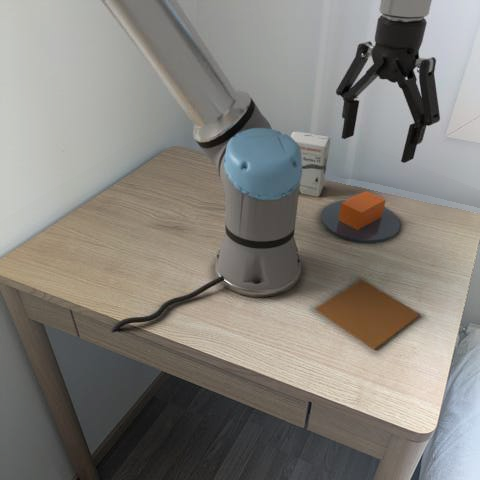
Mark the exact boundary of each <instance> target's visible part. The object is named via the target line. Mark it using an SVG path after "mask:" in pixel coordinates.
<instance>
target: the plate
mask: <svg viewBox="0 0 480 480" xmlns="http://www.w3.org/2000/svg"><path fill="white" fill-rule="evenodd" d="M346 200H347V199H343V200H338V201H334V202H331V203H330V204H328V205H326V206H325V207H324V208H323V209H322V211H321V214H320V221H321V224H322V225H323V227H324V228H325V229H326V230H327V231H329V232H330V233H331V234H333V235H334V236H337V237H339V238H342V239H344V240H346V241H351V242H357V243H365V244H366V243H369V244H370V243H381V242H383V241H387V240H390V239H391V238H393V237H395V235H397V233H398V232H399V230H400V225H401V223H400V220H399V218H398V216H397V215H396V213H394V212H393V211H392V210H390V209H389V208H387V207H385V206H384V209H383V213H382V217H381V218H379V219H377V220H375V221H373V222H372V223H370V224H368V225H366V226H364V227H362V228H361V229H359V230H356V229H354V228H352V227H351V226H349V225H347V224H345V223H343V222H341V221H339V214H340V208H341V203H342V202H344V201H346Z"/></svg>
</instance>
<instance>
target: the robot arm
mask: <svg viewBox="0 0 480 480" xmlns="http://www.w3.org/2000/svg"><path fill="white" fill-rule="evenodd" d="M100 1H101V3H102V5H103V6H105V8H106V9H107V11H108V13H110V14H111V16H112V17H113V19H114V20H115V21H116V22H117V24H118V25H119V26H120V28H121V29H122V30H123V32H124V33H125V35H126V36H127V37H128V38H129V39H130V41H131V42H132V43H133V45H134V46H135V48H136V49H137V50H138V51H139V53H140V54H141V56H142V57H143V58H144V59H145V61H146V62H147V63H148V65H149V66H150V68H151V69H152V70H153V71H154V73H155V74H156V75H157V77H158V78H159V80H160V81H161V82H162V84H163V85H164V87H166V89H167V90H168V91H169V92H170V94H171V95H172V96H173V98H174V99H175V101H176V102H177V104H178V105H179V106H180V107H181V108H182V110H183V111H184V113H185V114H186V115H187V117H188V118H189V119H190V120H191V122H192V123H193V131H192V137H193V139H194V140H195V142H196V143H197V144H198V146H199V147H200V149H201V150H202V151H203V152H204V154H205V155H206V156H207V158H208V159H209V161H211V163H212V165H213V166H214V167H215V168H216V169H215V170H216V171H217V174H218V176H219V179H220V182H221V185H222V188H223V191H224V201H225V203H224V204H225V206H224V207H225V208H224V210H225V211H224V215H225V216H224V217H225V219H224V221H225V222H224V224H225V225H224V227H225V229H224V234H223V237H222V240H221V243H220V246H219V249H218V251H217V253H216V256H215V261H214V272H215V276H216V278H215V279H212V280H211V281H209V282H207V283H206V284H204V285H202V286H200V287H199V288H197V289H196V290H193V291H192V292H190V293H187V294H185V295H181V296H177V297H174V298H171V299H169V300H167V301H165V302H164V303H162V305H160V307H159V308H158V309H157V310H156V311H155V312H153V313H152V314H149V315H145V316H133V317H127V318H123V319H121V320H120V321H118V322H117V323H116V324H114V326H113V327H112V329H110V330H111V333H116V332H118V331H119V330H120V329H121V328H122V327H124V326H126V325H128V324H129V325H130V324H135V323H146V322H147V323H148V322H150V321H153V320H156V319H157V318H159V317H160V316H161V315H162V314H164V312H165V311H166V310H167V309H168V308H169V307H171V306H172V305H175V304H178V303H182V302H185V301H188V300H191V299H193V298H195V297H197V296H199V295H200V294H203V293H204V292H205V291H207V290H208V289H210V288H212V287H214V286H216V285H218V284H221V285H222V286H223V287H224V288H226V289H228V290H229V291H231V292H233V293H236V294H239V295H242V296H246V297H255V298H267V297H272V296H273V297H274V296H277V295H280V294H284V293H285V292H287V291H289V290H291V289H292V288H294V286H296V284H297V283H298V282H299V279H300V277H301V270H302V264H301V257H300V255H299V248H298V246H297V242H296V238H295V231H296V229H295V228H296V221H297V214H298V206H299V205H298V204H299V196H300V193H299V188H300V180H301V176H302V154H301V150H300V148H299V146H298V144H297V143H296V142H295V141H294V140H293V139H292V138H291V137H290V136H291V135H289V134H286V133H284V134H282V133H281V131H279V130H276V129H273V128H272V125H271V124H270V122H269V121H268V120H267V118H266V117H265V115H264V114H262V112H261V110H260V108H259V107H258V106H257V104H256V103H255V101H254V100H253V98H252V97H251V95H250V94H249V92H247V91H244V90H236V89H235V88H234V86H233V84H232V83H231V82H230V80H229V78H228V77H227V75H226V74H225V72H224V71H223V69H222V68H221V66H220V65H219V63H218V61H217V60H216V58H215V57H214V55H213V54H212V53H211V51H210V49H209V48H208V46H207V44H206V43H205V41H204V40H203V39H202V37H201V35H200V34H199V32H198V30H197V29H196V28H195V26H194V25H193V23H192V21H191V20H190V19H189V17H188V16H187V14H186V13H185V11H184V9H183V7H182V6H181V5H180V3H179V2H178V1H177V0H100ZM432 2H433V0H380V5H379V8H378V10H379V12H380V14H381V15H379V17H378V18H377V21H376V22H377V23H376V28H375V34H374V42H375V44H374V45H373V43H372V41H370V40H369V41H365V42H362V43H359V44H358V45H357V48H356V53H355V57H353V60H352V61H351V64H350V65H349V67H348V68H347V70H346V72H345V74H344V75H343V78H342V80H341V81H340V82H339V85H338V86H337V88H336V90H335V93H336V95H337V96H340V97H341V98H342V100H343V105H342V106H343V107H342V113H341V117H342V119H344V120H343V126H342V132H341V139H342V140H346V139H348V138H351V137H353V136H354V135H355V129H356V124H357V117H358V111H359V105H360V100H358V98H359V96H360V95H361V94H362V93H363V92H364V91H365V90H366V89H367V88H368V87H369V86H370V85H371V84H372V83H373V82H374V81H375V80H376V79H377V78H378V77H379V78H378V79H380V80H387V81H389V82H390V83H392V84H393V83H394V84H396V83H397V85H398V88H399V89H401V90H402V93H403V95H404V98H405V102H406V104H407V107H408V110H409V112H410V114H411V117H412V120H413V123H411V124H409V127H408V130H407V136H406V139H405V143H404V147H403V152H402V155H401V159H400V163H403V164H405V163H408V162H410V161H412V160H413V159H414V158H415V153H416V151H417V146H418V145H419V144H421V143H422V142H423V140H424V137H425V133H426V129H427V127H430V126H432V125H434V124H437V123H439V122H440V120H441V115H440V108H439V107H440V106H439V99H438V92H437V86H436V77H435V72H436V64H437V59H436V57H434V56H432V57H428V58H423V57H420V49H421V46H422V44H423V42H424V36H425V33H426V32H425V31H426V28H427V20H426V18H425V17H427V16H428V15H429V14H430V10H431V6H432ZM370 58H371V59H372V63H373V64H372V65H371V66H370V67H369V68H368V69H367V70H366V71H365V74H363V75H362V76H361V78H360V79H358V77H359V76H360V75H361V72H362V70H363V69H364V67H365V65H366V64H367V63H368V60H369V59H370ZM416 68H417V69H416ZM415 69H416V72H417V73H418V78H417V76H416V73H415ZM357 79H358V80H357ZM417 79H418V81H417ZM356 80H357V82H356ZM417 82H419V86H418V84H417ZM419 87H420V89H419Z"/></svg>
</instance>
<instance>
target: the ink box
mask: <svg viewBox="0 0 480 480" xmlns="http://www.w3.org/2000/svg"><path fill="white" fill-rule="evenodd" d="M289 136H290V137H291V138H292V139H293V140H294V141H295V142H296V143H297V144H298V146H299V148H300V150H301V154H302V176H301V180H300V188H299V195H300V194H301V195H306V196H312V197H320V195H321V193H322V191H323V188H324V184H325V177H326V171H327V165H328V159H329V153H330V146H331V140H332V139H331V138H330V137H329V136H327V135H326V136H325V135H319V134H313V133H309V132H302V131H293V132H291V134H290V135H289Z"/></svg>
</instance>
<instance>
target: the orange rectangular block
mask: <svg viewBox="0 0 480 480" xmlns="http://www.w3.org/2000/svg"><path fill="white" fill-rule="evenodd" d="M345 200H346V201H344V202H342V203H341V208H340V214H339V221H341V222H343V223H345V224H347V225H349V226H351V227H352V228H354V229H356V230H359V229H361V228H362V227H364V226H366V225H368V224H370V223H372V222H373V221H375V220H377V219H379V218H381V217H382V213H383V209H384V207H385V205H386V201H387V200H386V199H385V198H382V197H380V196H379V195H377V194H374V193H372V192H370V191H368V190H365V191H362V192H361V193H358V194H357V195H354V196H352V197H350V198H349V199H345Z"/></svg>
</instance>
